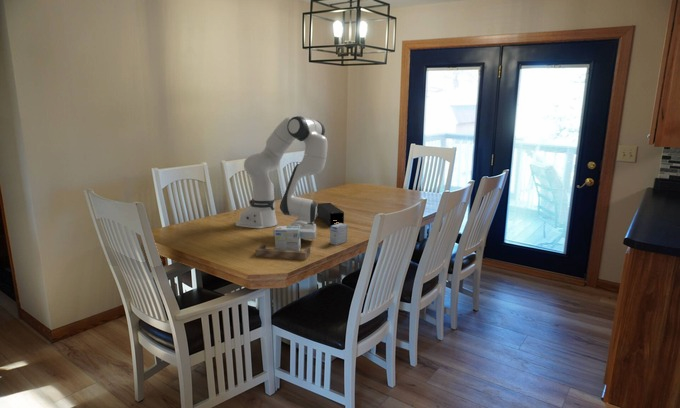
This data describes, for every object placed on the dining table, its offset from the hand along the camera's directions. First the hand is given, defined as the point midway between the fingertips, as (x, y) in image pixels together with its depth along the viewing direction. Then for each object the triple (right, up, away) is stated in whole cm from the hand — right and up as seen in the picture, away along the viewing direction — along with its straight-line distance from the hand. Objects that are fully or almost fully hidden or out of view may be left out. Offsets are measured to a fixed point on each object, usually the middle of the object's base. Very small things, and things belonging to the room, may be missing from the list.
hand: (290, 237), depth 200 cm
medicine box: (+22, -3, +10) cm, 24 cm away
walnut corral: (-2, -7, -9) cm, 11 cm away
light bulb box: (-1, -6, -2) cm, 6 cm away
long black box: (+21, +7, +37) cm, 43 cm away
